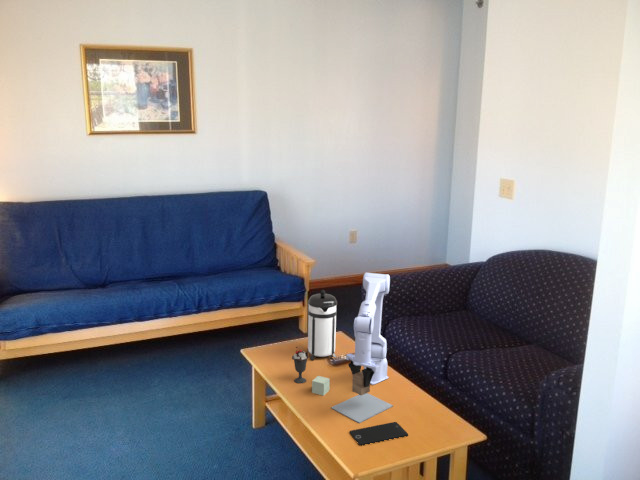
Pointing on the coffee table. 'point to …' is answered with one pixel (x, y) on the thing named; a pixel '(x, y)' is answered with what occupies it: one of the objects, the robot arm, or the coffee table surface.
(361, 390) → the walnut block
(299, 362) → the sundae
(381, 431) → the cell phone
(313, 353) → the coffee press
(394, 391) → the coffee table surface
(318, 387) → the sage block
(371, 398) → the slate board
